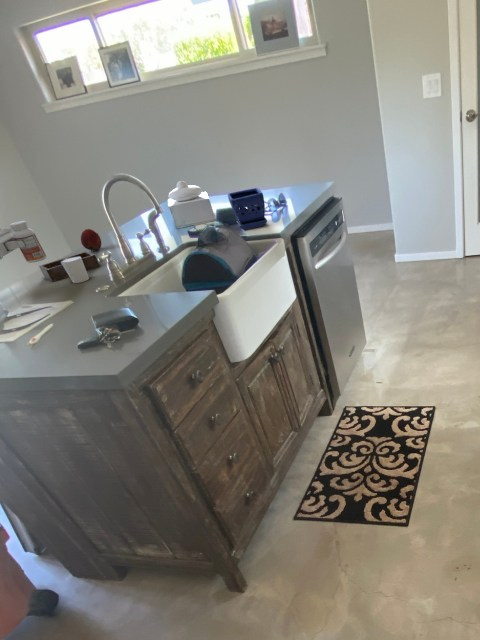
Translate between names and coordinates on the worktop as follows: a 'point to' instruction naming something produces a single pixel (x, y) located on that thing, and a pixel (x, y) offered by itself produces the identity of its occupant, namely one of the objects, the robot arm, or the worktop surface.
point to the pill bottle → (28, 242)
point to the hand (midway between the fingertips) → (29, 239)
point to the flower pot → (248, 208)
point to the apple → (90, 240)
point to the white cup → (75, 269)
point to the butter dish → (189, 205)
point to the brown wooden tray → (57, 270)
